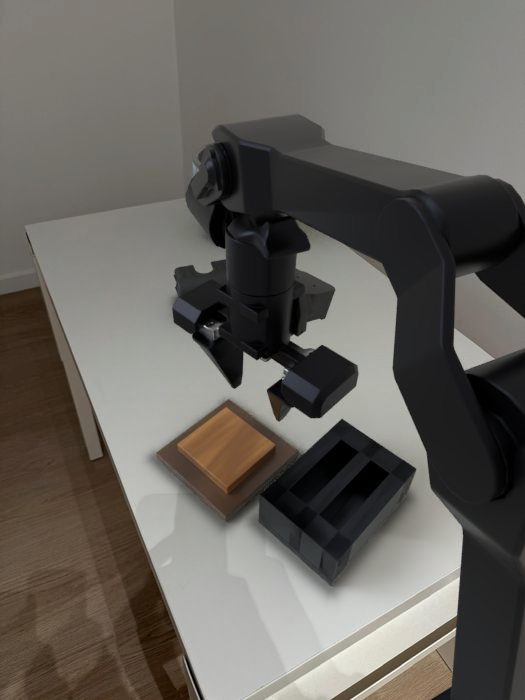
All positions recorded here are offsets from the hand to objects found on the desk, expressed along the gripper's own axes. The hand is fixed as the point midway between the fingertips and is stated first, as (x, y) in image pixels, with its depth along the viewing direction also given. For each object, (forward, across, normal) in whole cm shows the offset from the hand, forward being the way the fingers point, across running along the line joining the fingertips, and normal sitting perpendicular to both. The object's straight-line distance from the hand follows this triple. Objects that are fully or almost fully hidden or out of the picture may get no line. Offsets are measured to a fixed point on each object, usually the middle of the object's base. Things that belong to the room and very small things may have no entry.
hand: (258, 401), depth 53 cm
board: (+12, +4, +2) cm, 12 cm away
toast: (+10, -1, +2) cm, 10 cm away
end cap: (+12, +27, -17) cm, 34 cm away
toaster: (+12, -10, -2) cm, 16 cm away
